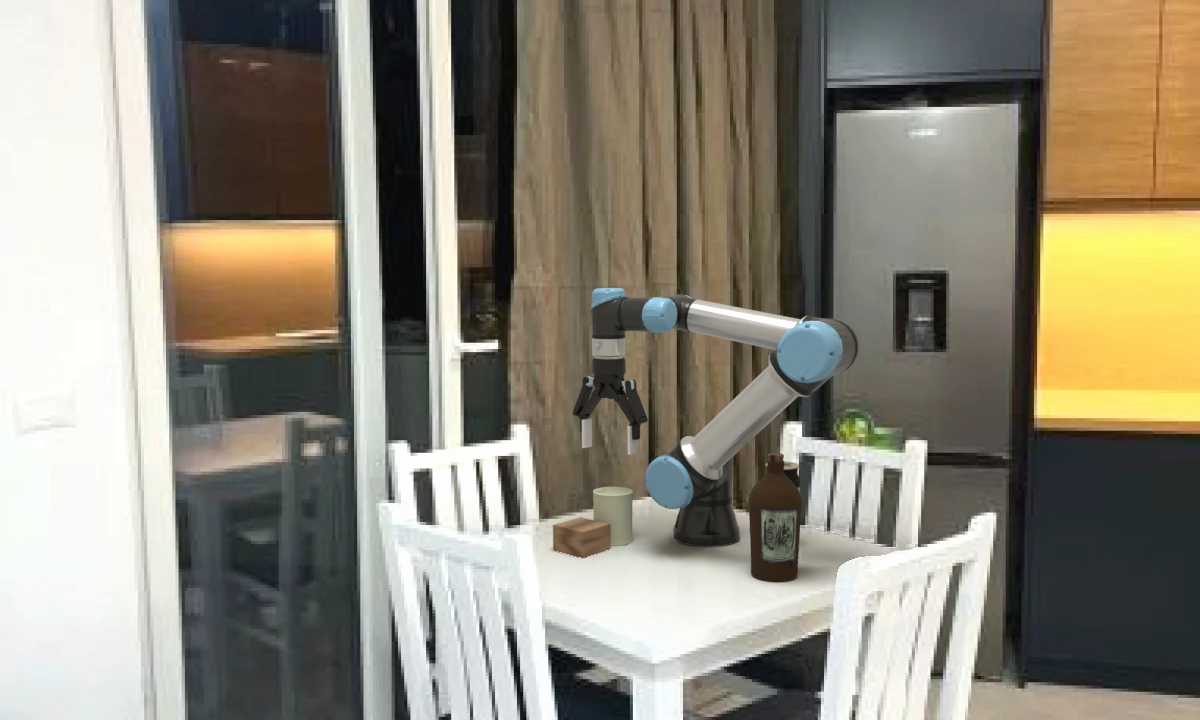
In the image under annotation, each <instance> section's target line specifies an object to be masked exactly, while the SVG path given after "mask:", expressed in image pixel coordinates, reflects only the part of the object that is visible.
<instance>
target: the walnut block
mask: <svg viewBox="0 0 1200 720" xmlns="http://www.w3.org/2000/svg"><path fill="white" fill-rule="evenodd" d="M611 547H612V546H611V524H608V523H604V522H599V521H595V520H594V519H590V518H585V517H581V516H580V517H578V518H574V519H570V520H566V521H562V522H559V523H556V524H553V525H552V551H553V550H554V551H553V552H556V551H558V552H557V553H560V552H562V553H561V554H563V553H566V554H565V555H567V554H570V555H569V556H571V555H573V556H572V557H575V556H576V557H575V558H579V557H581V558H580V559H586V558H589V557H588V556H590V557H592V556H591V555H593V556H594V554H596V555H598V553H599V554H602V553H604V551H605V552H607V551H606V550H608V551H610V550H609V549H611ZM601 552H602V553H601Z"/></svg>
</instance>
